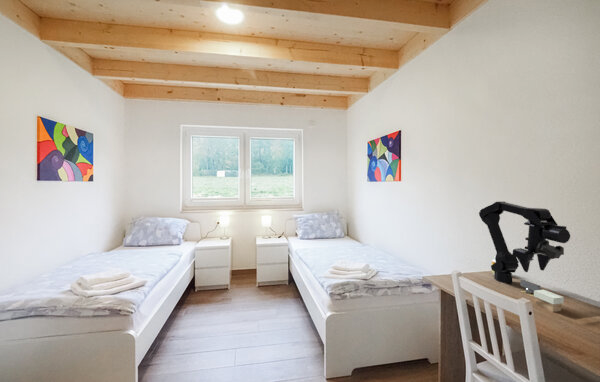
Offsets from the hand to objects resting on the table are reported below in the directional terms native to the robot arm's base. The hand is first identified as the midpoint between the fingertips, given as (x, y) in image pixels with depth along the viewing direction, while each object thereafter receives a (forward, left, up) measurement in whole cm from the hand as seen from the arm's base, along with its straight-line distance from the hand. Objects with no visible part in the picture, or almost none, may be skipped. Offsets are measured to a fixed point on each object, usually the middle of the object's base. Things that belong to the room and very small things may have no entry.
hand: (534, 271), depth 112 cm
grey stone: (-1, 0, -11) cm, 11 cm away
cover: (+10, -7, -7) cm, 14 cm away
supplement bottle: (-24, +9, -12) cm, 28 cm away
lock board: (+5, -3, -12) cm, 13 cm away
